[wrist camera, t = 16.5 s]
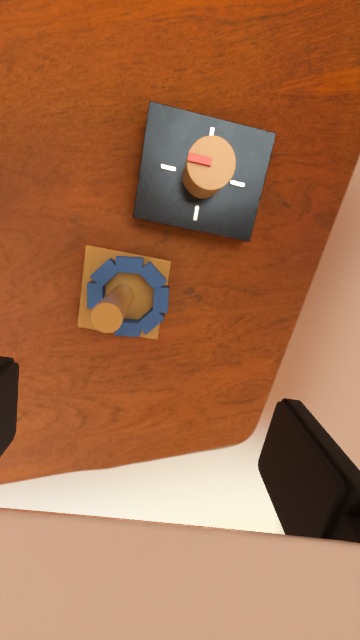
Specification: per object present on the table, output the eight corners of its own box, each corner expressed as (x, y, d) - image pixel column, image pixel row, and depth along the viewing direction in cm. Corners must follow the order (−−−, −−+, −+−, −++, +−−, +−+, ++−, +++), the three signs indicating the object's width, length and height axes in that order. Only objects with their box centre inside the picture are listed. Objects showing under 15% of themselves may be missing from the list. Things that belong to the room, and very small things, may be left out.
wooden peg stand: (170, 260, 31) (176, 269, 20) (157, 336, 33) (155, 380, 23) (88, 244, 30) (48, 245, 19) (80, 323, 32) (40, 364, 22)
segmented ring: (170, 259, 30) (171, 260, 28) (165, 333, 32) (166, 338, 31) (90, 253, 29) (86, 254, 28) (90, 330, 32) (87, 334, 30)
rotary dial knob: (228, 157, 27) (242, 140, 22) (218, 202, 28) (230, 194, 23) (186, 148, 26) (192, 127, 22) (178, 193, 27) (182, 183, 22)
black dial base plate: (266, 142, 29) (277, 132, 26) (242, 241, 31) (250, 241, 29) (150, 113, 27) (149, 99, 25) (135, 219, 30) (132, 217, 27)
